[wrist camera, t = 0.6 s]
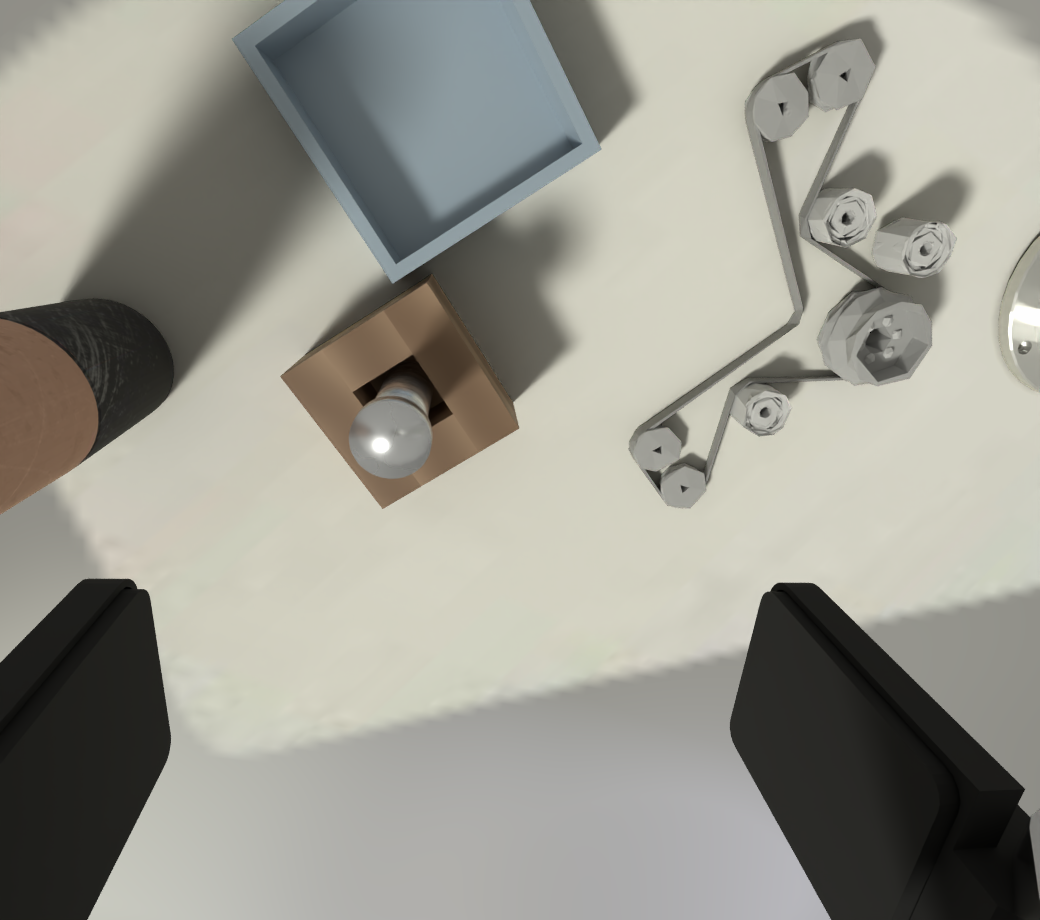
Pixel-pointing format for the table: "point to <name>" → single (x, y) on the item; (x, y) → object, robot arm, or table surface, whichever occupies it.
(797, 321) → the pulley system
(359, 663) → the table surface
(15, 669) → the robot arm
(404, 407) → the lock pin
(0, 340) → the travel mug
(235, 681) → the table surface
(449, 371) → the block
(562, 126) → the pin tray
